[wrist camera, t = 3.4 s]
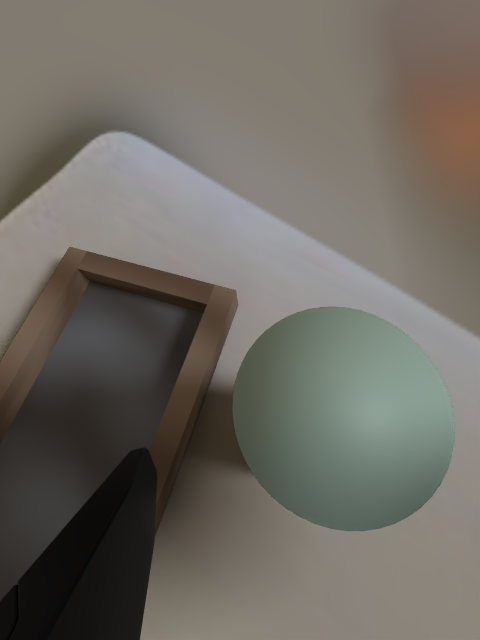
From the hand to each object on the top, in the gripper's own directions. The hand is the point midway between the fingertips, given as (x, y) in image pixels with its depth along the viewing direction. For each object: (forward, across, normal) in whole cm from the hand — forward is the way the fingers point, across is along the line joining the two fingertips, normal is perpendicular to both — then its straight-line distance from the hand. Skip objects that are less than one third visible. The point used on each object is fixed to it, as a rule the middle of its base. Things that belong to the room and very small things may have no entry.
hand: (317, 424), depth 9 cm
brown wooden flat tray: (+7, +11, +5) cm, 14 cm away
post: (+6, 0, +6) cm, 8 cm away
